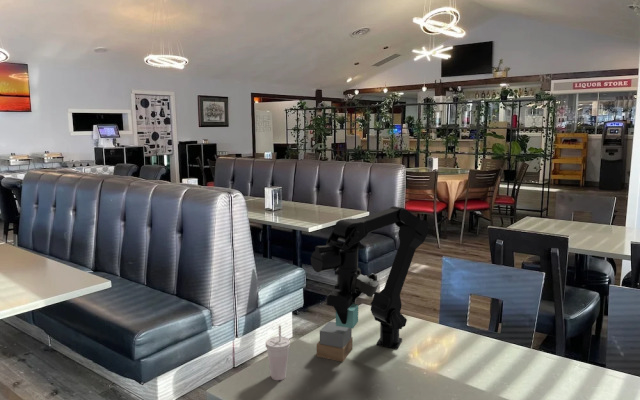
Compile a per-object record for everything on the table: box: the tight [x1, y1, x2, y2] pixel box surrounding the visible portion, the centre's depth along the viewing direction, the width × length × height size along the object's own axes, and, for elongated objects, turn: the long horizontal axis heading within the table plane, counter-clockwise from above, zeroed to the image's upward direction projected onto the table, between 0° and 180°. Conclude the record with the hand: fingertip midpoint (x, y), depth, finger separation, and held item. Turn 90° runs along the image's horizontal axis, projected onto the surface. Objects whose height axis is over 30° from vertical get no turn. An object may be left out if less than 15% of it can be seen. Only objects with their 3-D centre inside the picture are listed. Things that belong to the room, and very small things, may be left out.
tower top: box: [319, 320, 353, 348], centre depth 133 cm, size 7×7×4 cm
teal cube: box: [335, 303, 359, 329], centre depth 129 cm, size 5×5×5 cm
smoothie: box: [265, 324, 291, 381], centre depth 120 cm, size 6×6×14 cm
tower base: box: [316, 336, 354, 363], centre depth 133 cm, size 8×8×4 cm
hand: (347, 320), depth 129 cm, fingers closed on teal cube, 5 cm apart
